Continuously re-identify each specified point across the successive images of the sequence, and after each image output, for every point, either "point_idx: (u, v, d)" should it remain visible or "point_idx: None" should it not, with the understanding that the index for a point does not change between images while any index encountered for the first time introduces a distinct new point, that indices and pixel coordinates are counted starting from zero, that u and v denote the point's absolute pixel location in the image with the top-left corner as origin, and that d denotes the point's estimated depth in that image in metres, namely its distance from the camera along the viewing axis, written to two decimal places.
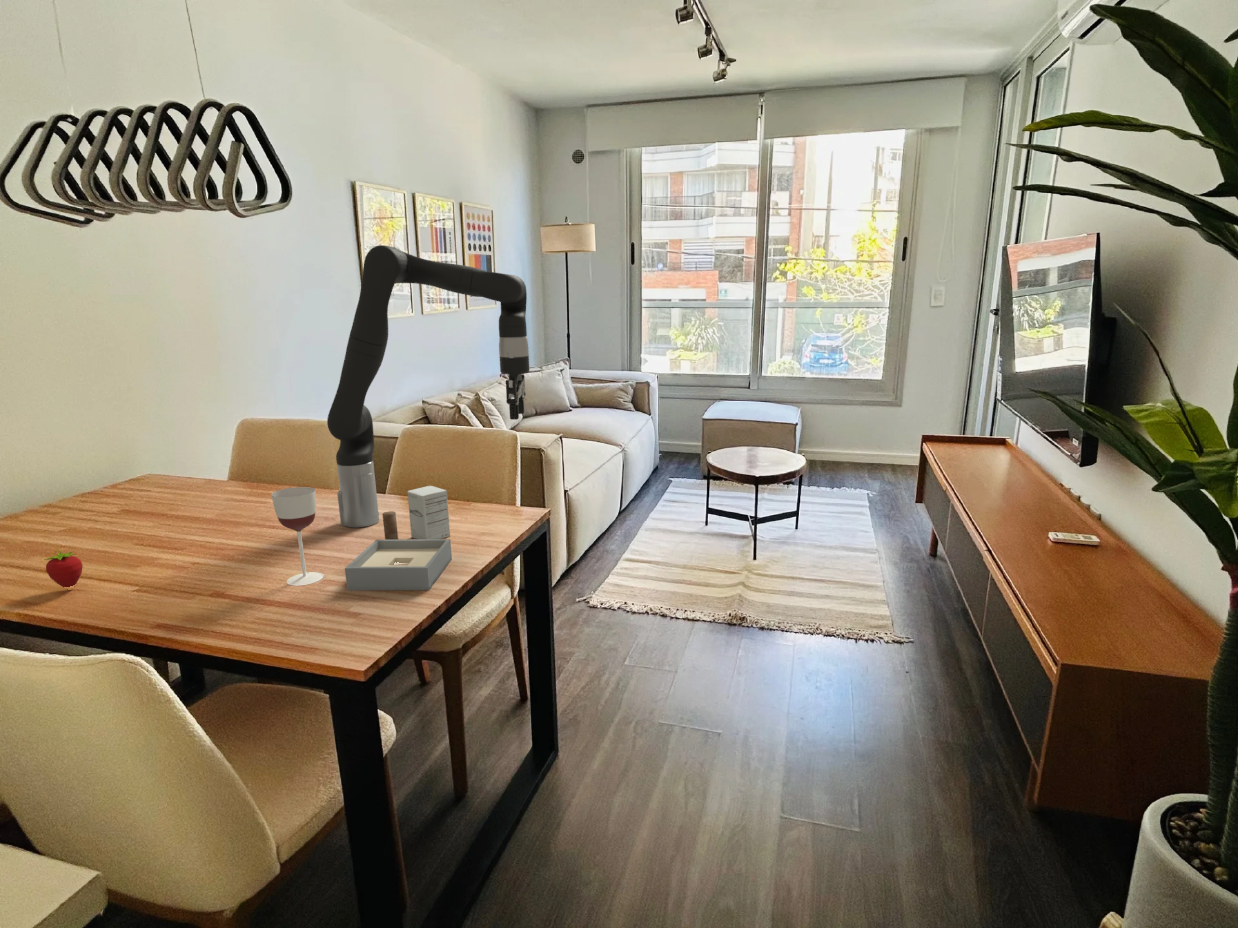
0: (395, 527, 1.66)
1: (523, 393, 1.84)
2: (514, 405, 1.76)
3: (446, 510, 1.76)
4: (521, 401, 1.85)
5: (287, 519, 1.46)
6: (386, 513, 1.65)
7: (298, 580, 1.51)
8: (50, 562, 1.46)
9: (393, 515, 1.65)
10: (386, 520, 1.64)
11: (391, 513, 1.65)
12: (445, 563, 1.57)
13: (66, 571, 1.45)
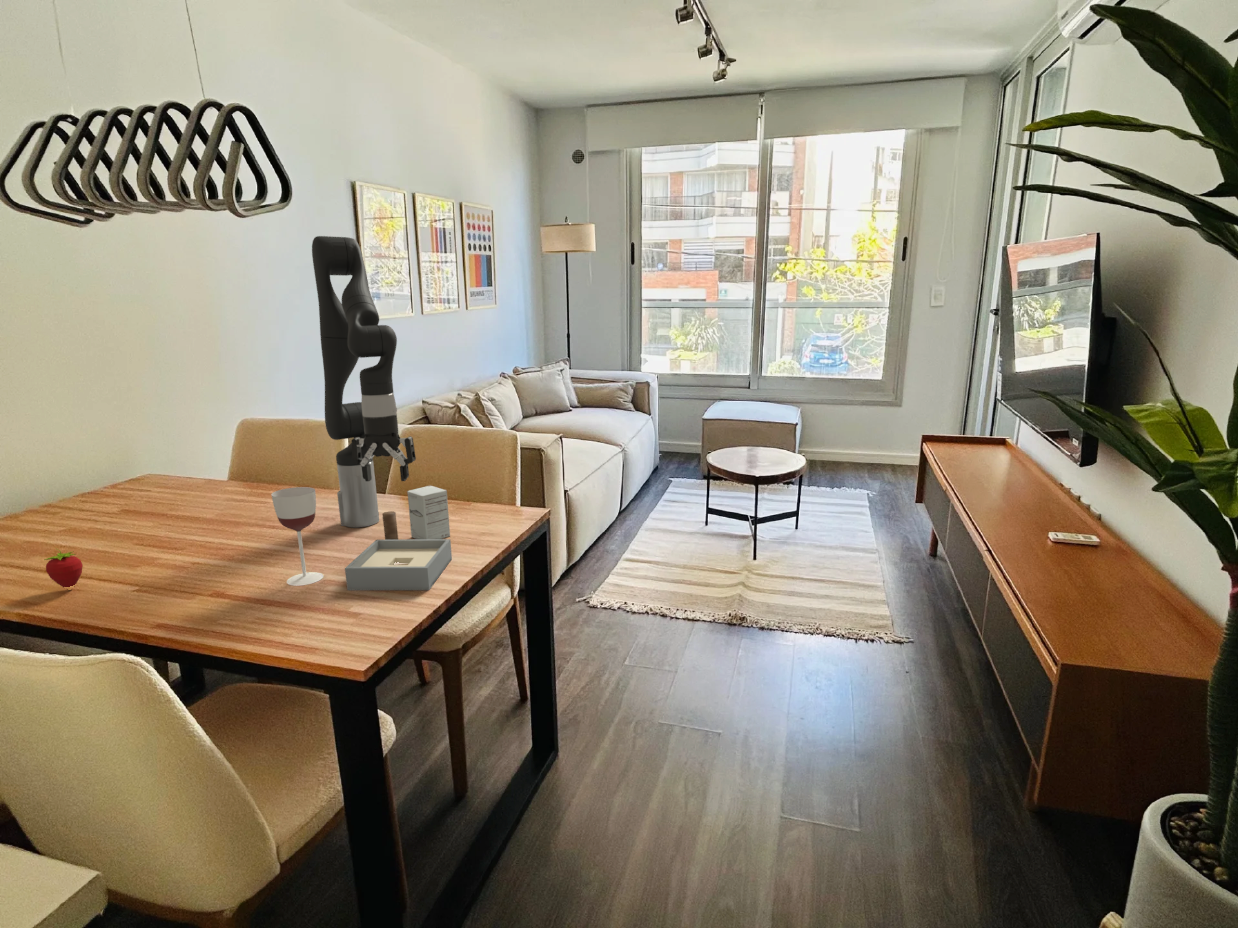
0: (395, 527, 1.66)
1: (373, 456, 1.64)
2: None
3: (446, 510, 1.76)
4: (369, 466, 1.64)
5: (287, 519, 1.46)
6: (386, 513, 1.65)
7: (298, 580, 1.51)
8: (50, 562, 1.46)
9: (393, 515, 1.65)
10: (386, 520, 1.64)
11: (391, 513, 1.65)
12: (445, 563, 1.57)
13: (66, 571, 1.45)
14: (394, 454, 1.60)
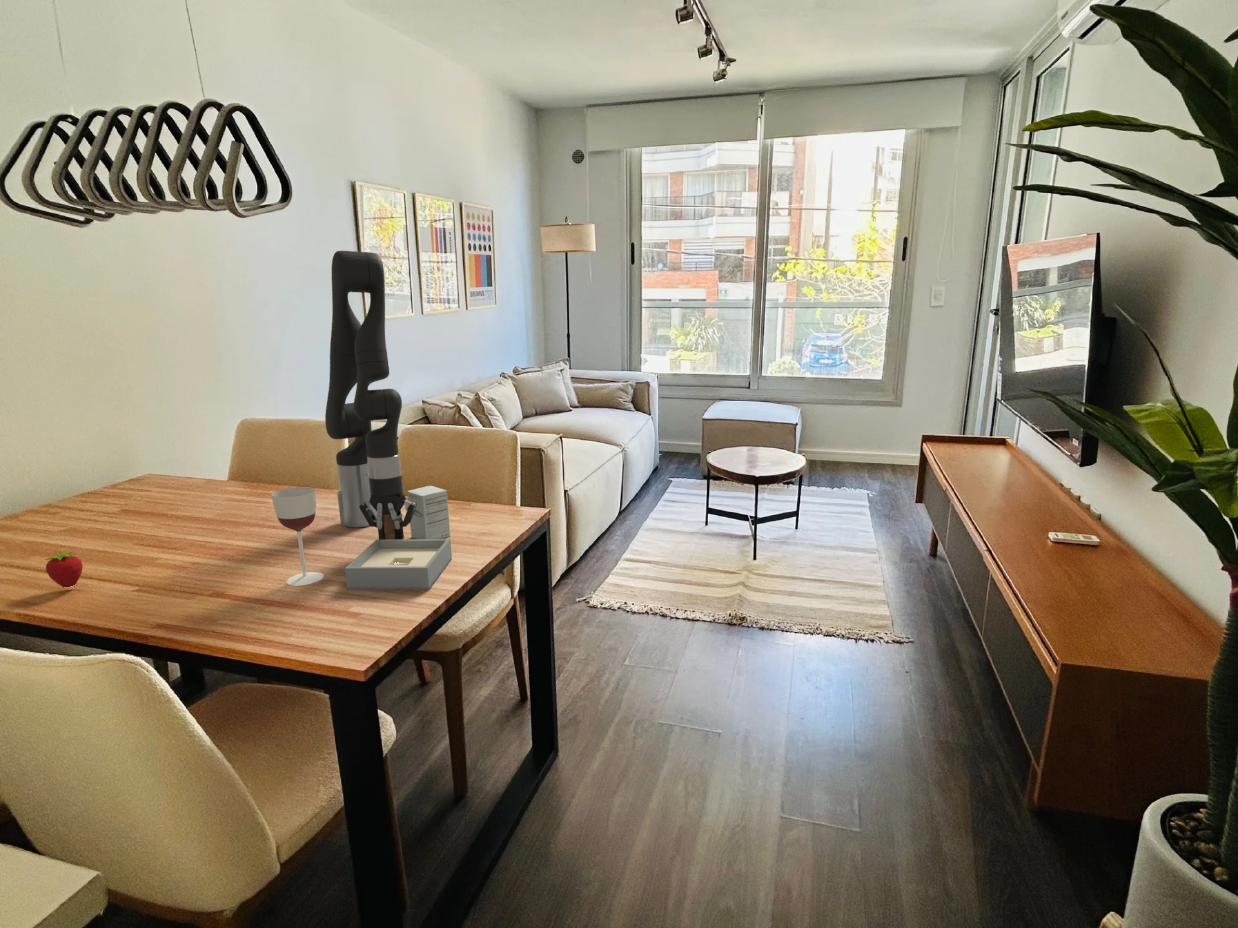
0: None
1: None
2: None
3: (446, 510, 1.76)
4: None
5: (287, 519, 1.46)
6: None
7: (298, 580, 1.51)
8: (50, 562, 1.46)
9: None
10: (386, 520, 1.64)
11: None
12: (445, 563, 1.57)
13: (66, 571, 1.45)
14: (394, 516, 1.64)
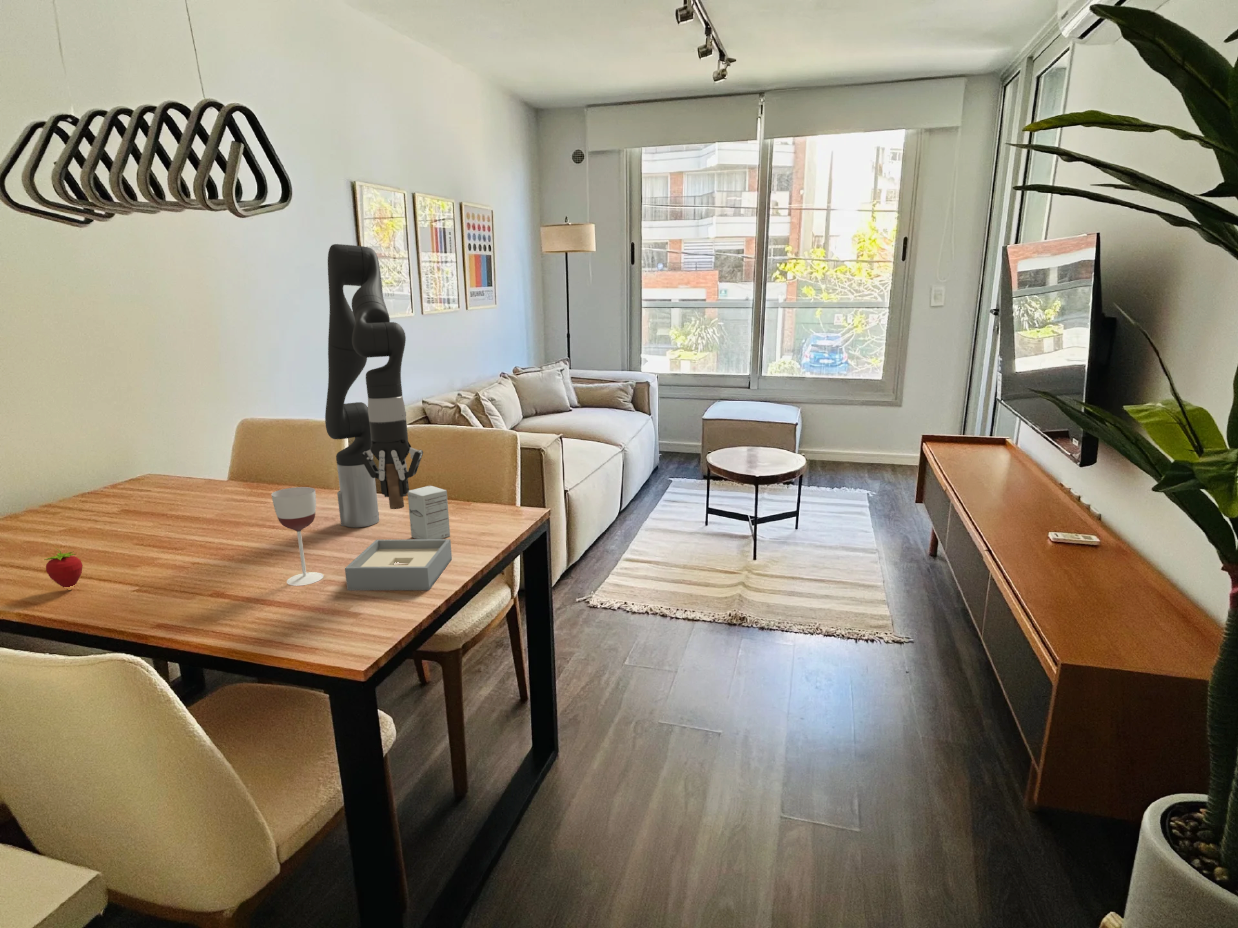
0: (399, 478, 1.49)
1: None
2: None
3: (446, 510, 1.76)
4: None
5: (287, 519, 1.46)
6: None
7: (298, 580, 1.51)
8: (50, 562, 1.46)
9: None
10: (389, 469, 1.48)
11: None
12: (445, 563, 1.57)
13: (66, 571, 1.45)
14: (398, 465, 1.48)
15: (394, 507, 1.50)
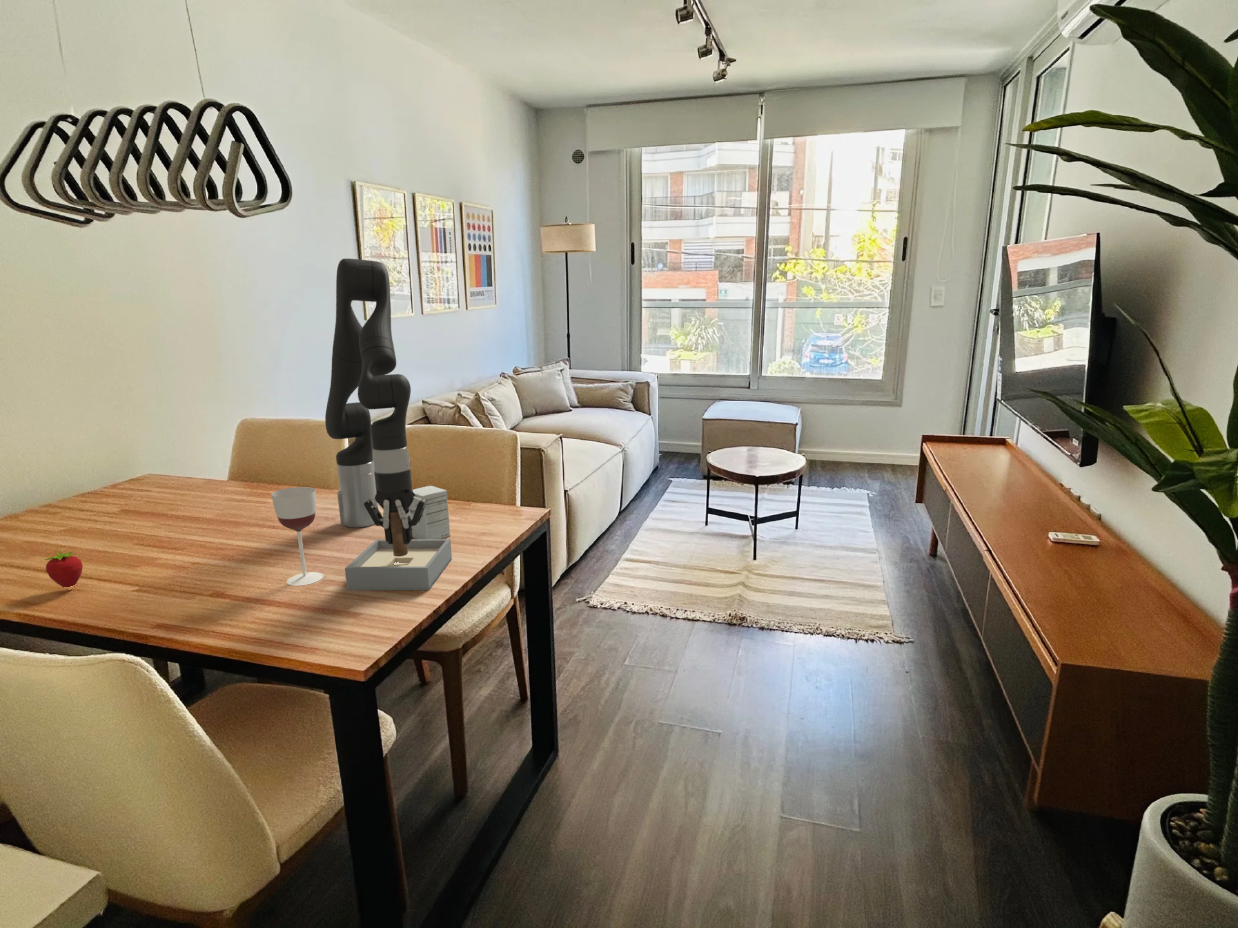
0: None
1: None
2: (411, 526, 1.52)
3: (446, 510, 1.76)
4: None
5: (287, 519, 1.46)
6: None
7: (298, 580, 1.51)
8: (50, 562, 1.46)
9: None
10: (393, 518, 1.50)
11: None
12: (445, 563, 1.57)
13: (66, 571, 1.45)
14: (402, 514, 1.49)
15: (398, 554, 1.52)
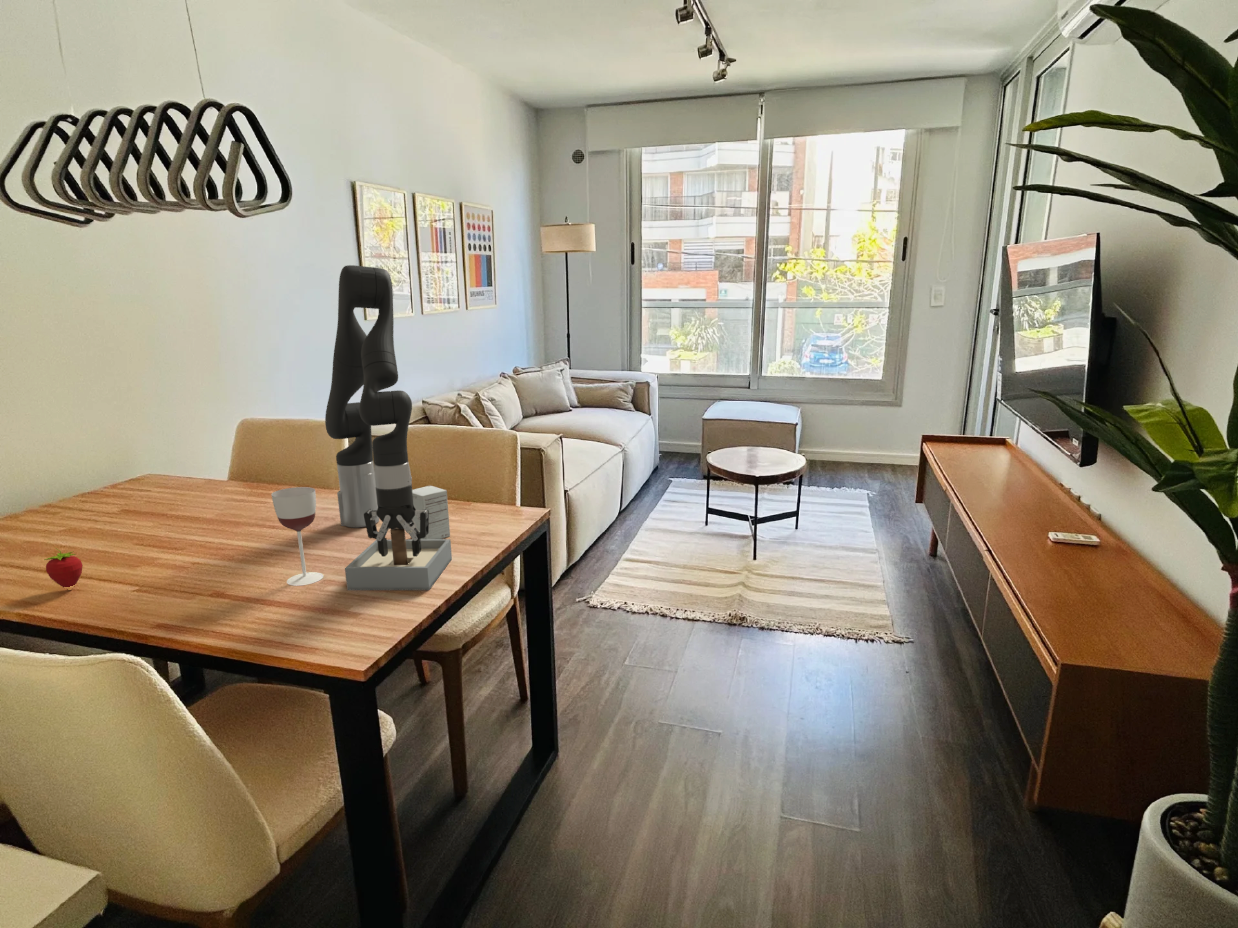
0: (404, 544, 1.52)
1: (389, 528, 1.53)
2: (420, 538, 1.53)
3: (446, 510, 1.76)
4: (385, 540, 1.53)
5: (287, 519, 1.46)
6: (394, 529, 1.52)
7: (298, 580, 1.51)
8: (50, 562, 1.46)
9: (402, 531, 1.51)
10: (394, 536, 1.51)
11: (400, 529, 1.52)
12: (445, 563, 1.57)
13: (66, 571, 1.45)
14: (407, 528, 1.50)
15: None
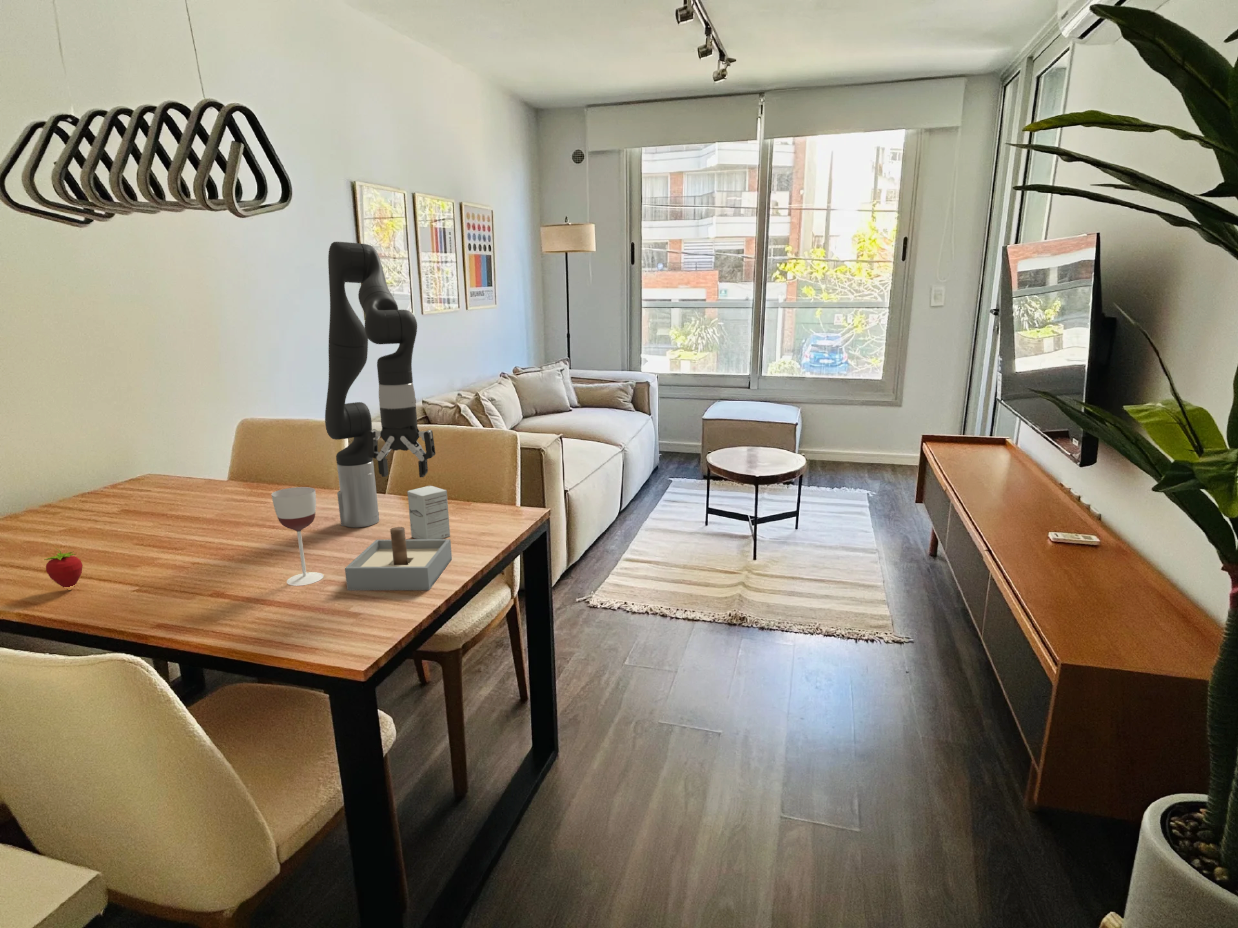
0: (404, 544, 1.52)
1: (390, 449, 1.53)
2: None
3: (446, 510, 1.76)
4: (386, 460, 1.53)
5: (287, 519, 1.46)
6: (394, 529, 1.52)
7: (298, 580, 1.51)
8: (50, 562, 1.46)
9: (402, 531, 1.51)
10: (394, 536, 1.51)
11: (400, 529, 1.52)
12: (445, 563, 1.57)
13: (66, 571, 1.45)
14: (412, 448, 1.50)
15: None
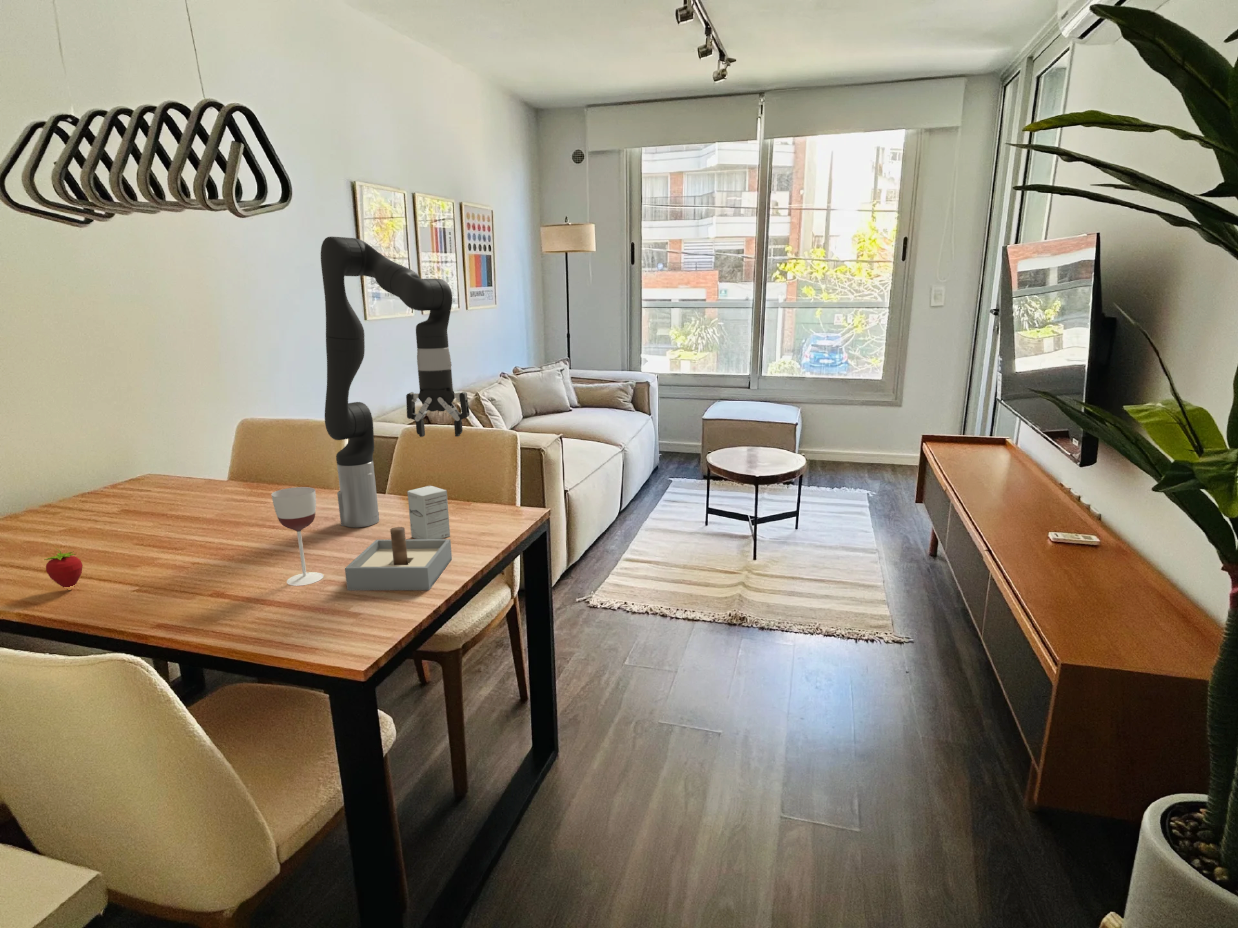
0: (404, 544, 1.52)
1: (427, 411, 1.64)
2: (461, 419, 1.63)
3: (446, 510, 1.76)
4: (423, 422, 1.64)
5: (287, 519, 1.46)
6: (394, 529, 1.52)
7: (298, 580, 1.51)
8: (50, 562, 1.46)
9: (402, 531, 1.51)
10: (394, 536, 1.51)
11: (400, 529, 1.52)
12: (445, 563, 1.57)
13: (66, 571, 1.45)
14: (449, 409, 1.60)
15: None
